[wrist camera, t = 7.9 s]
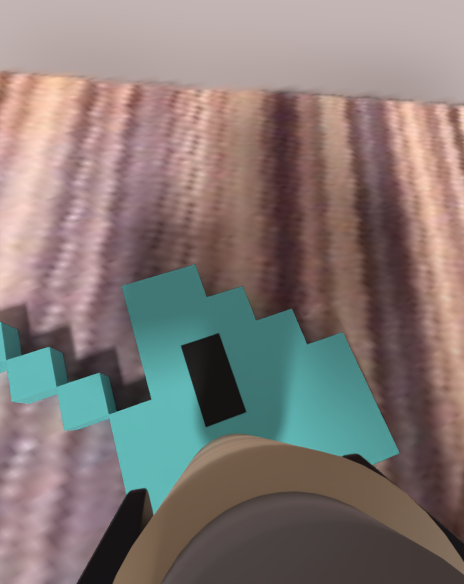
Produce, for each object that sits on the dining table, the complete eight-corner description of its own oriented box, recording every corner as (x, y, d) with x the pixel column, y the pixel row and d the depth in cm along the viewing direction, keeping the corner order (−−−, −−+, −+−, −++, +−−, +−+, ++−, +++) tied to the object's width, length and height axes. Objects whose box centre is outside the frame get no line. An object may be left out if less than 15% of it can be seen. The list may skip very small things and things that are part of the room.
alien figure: (35, 792, 15) (441, 585, 18) (5, 852, 13) (472, 607, 16) (-17, 343, 21) (289, 250, 24) (-43, 334, 19) (296, 233, 22)
